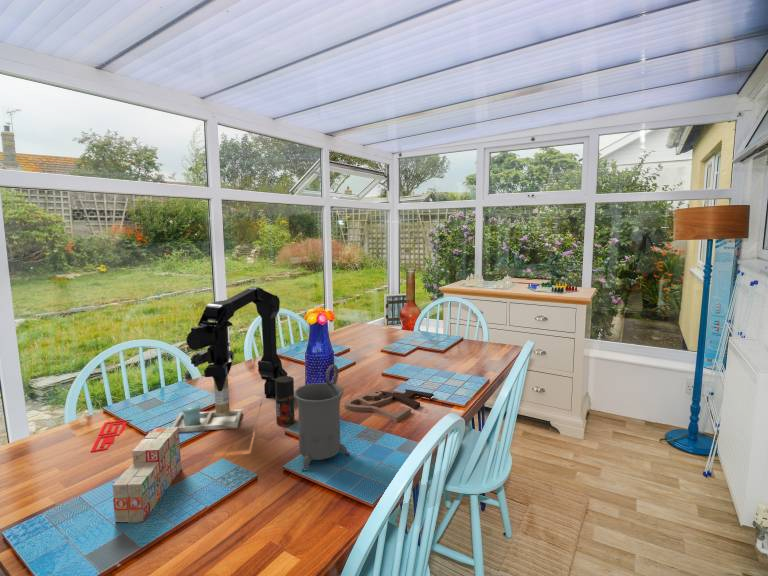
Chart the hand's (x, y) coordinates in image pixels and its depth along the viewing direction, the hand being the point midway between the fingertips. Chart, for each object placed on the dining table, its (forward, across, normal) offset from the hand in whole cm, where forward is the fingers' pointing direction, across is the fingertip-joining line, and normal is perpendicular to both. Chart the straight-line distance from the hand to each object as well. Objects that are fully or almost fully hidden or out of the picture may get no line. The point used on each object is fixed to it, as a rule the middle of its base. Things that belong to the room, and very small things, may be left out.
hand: (221, 388), depth 140 cm
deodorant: (+13, +2, +20) cm, 24 cm away
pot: (+11, 0, -10) cm, 15 cm away
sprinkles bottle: (+8, 0, 0) cm, 8 cm away
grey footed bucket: (+13, +25, +31) cm, 42 cm away
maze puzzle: (+13, 0, -27) cm, 30 cm away
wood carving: (+13, -8, +57) cm, 59 cm away
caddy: (+12, 0, -5) cm, 13 cm away
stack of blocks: (+13, +36, -11) cm, 39 cm away
